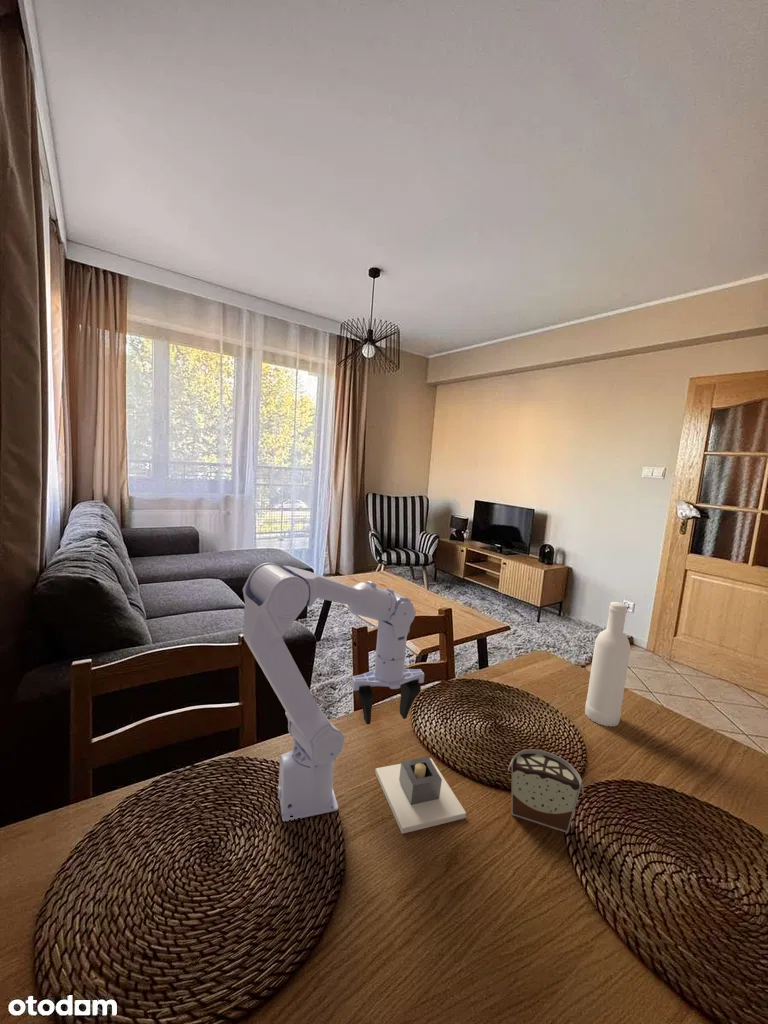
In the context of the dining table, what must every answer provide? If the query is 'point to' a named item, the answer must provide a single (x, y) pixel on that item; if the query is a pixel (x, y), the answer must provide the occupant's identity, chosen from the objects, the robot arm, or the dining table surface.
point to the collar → (420, 781)
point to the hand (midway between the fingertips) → (385, 718)
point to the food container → (544, 788)
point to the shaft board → (419, 813)
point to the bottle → (609, 670)
